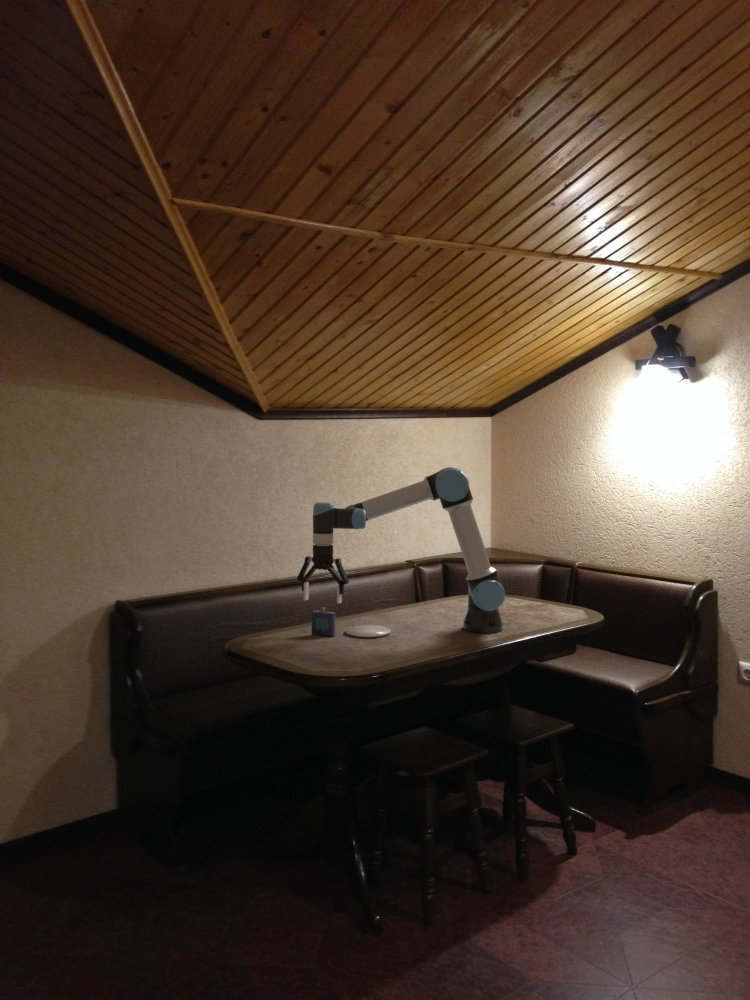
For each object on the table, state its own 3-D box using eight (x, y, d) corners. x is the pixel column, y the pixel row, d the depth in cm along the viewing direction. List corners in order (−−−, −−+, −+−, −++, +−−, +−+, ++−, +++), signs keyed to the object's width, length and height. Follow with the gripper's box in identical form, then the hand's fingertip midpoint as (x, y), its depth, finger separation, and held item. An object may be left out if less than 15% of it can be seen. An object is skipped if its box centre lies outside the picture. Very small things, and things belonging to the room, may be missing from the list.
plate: (397, 630, 315) (397, 627, 315) (380, 640, 299) (380, 637, 299) (356, 626, 322) (356, 623, 321) (338, 636, 306) (338, 632, 306)
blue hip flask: (336, 635, 307) (336, 607, 306) (333, 637, 304) (333, 608, 303) (312, 634, 309) (312, 605, 308) (310, 635, 306) (310, 607, 306)
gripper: (358, 545, 303) (357, 602, 304) (297, 541, 312) (297, 596, 314) (349, 547, 296) (349, 606, 298) (288, 543, 305) (287, 600, 307)
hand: (322, 601), depth 306 cm, fingers open, 13 cm apart
